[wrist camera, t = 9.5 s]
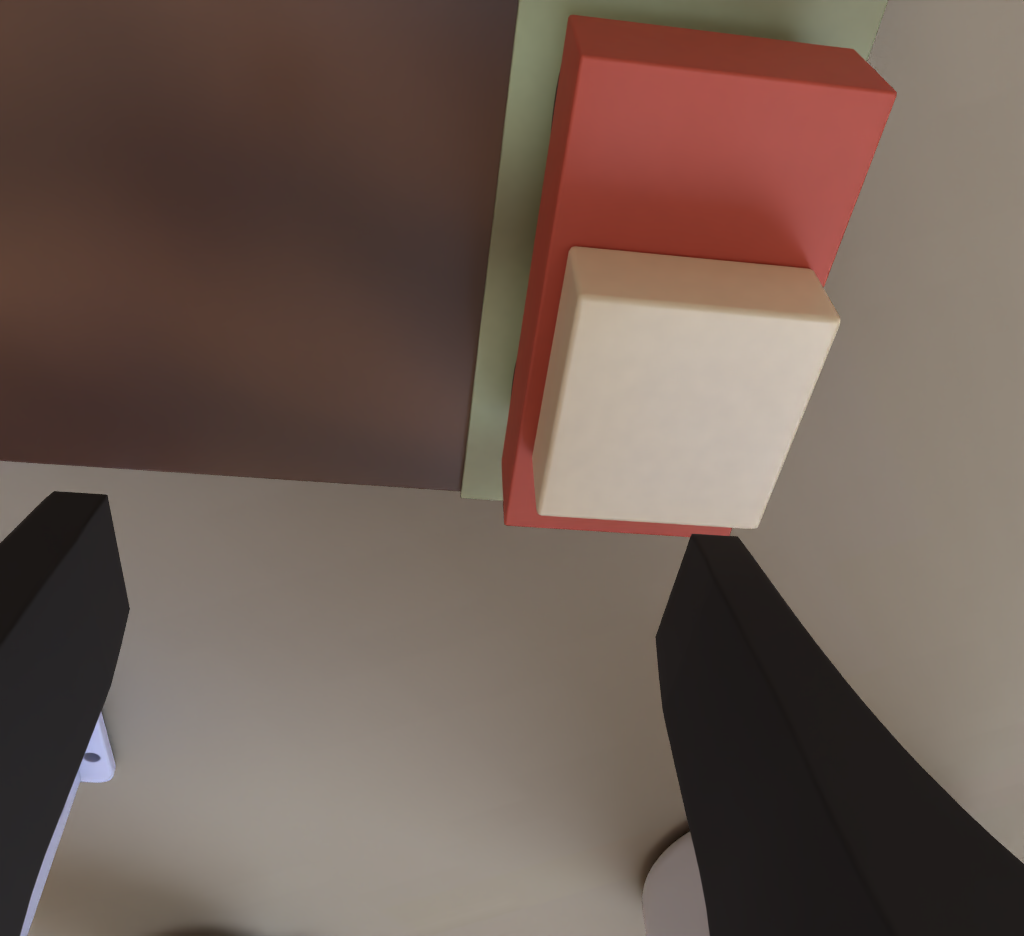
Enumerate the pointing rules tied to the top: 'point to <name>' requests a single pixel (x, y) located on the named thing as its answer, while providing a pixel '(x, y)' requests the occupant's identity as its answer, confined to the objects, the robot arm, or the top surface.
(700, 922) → the cylinder vase
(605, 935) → the top surface
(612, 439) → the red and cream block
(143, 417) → the board
